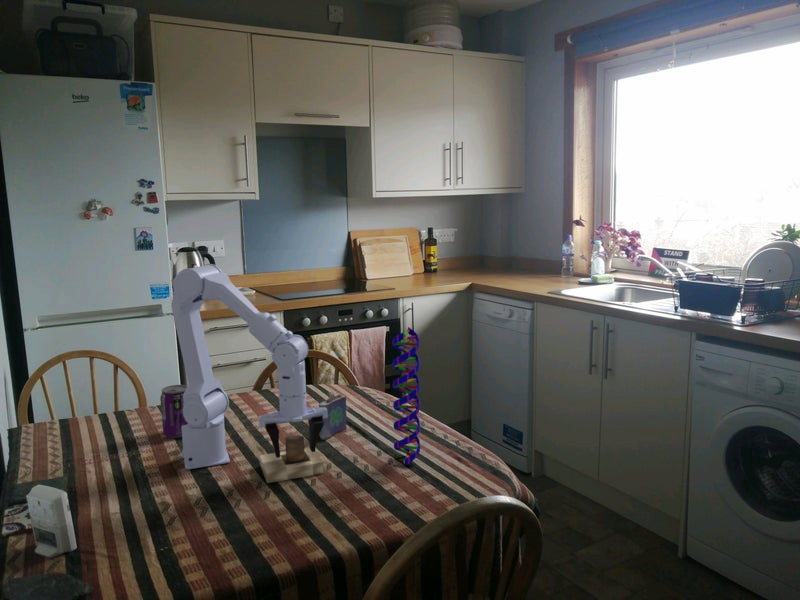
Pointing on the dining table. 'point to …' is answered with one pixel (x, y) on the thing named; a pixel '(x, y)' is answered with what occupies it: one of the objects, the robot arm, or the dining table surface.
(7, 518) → the dining table surface
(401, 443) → the dna model
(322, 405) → the flask
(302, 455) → the peg
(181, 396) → the beverage can
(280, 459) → the board
